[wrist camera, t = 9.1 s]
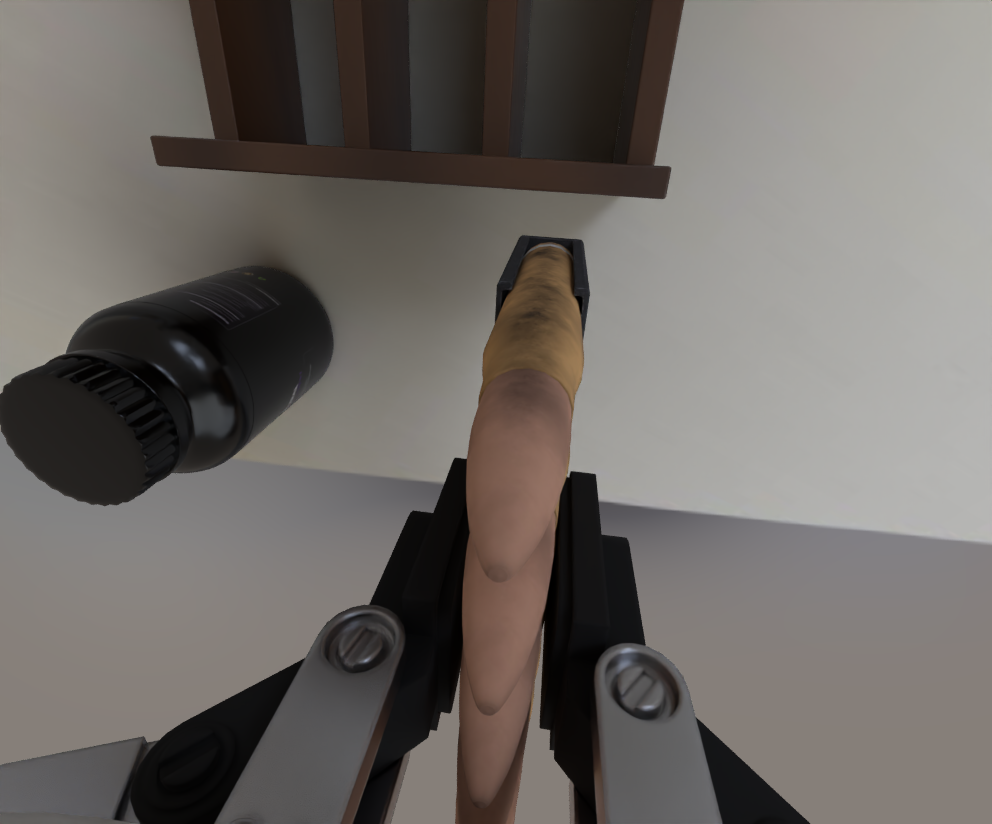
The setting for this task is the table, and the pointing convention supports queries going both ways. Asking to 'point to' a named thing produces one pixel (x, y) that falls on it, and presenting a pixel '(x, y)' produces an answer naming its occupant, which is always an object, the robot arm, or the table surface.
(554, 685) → the robot arm
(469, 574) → the ammunition clip
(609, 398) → the table surface
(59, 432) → the supplement bottle
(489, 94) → the rack
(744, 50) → the table surface
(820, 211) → the table surface
